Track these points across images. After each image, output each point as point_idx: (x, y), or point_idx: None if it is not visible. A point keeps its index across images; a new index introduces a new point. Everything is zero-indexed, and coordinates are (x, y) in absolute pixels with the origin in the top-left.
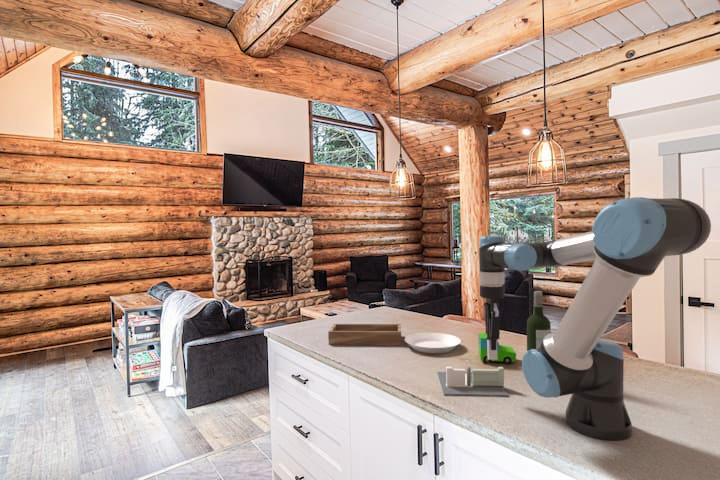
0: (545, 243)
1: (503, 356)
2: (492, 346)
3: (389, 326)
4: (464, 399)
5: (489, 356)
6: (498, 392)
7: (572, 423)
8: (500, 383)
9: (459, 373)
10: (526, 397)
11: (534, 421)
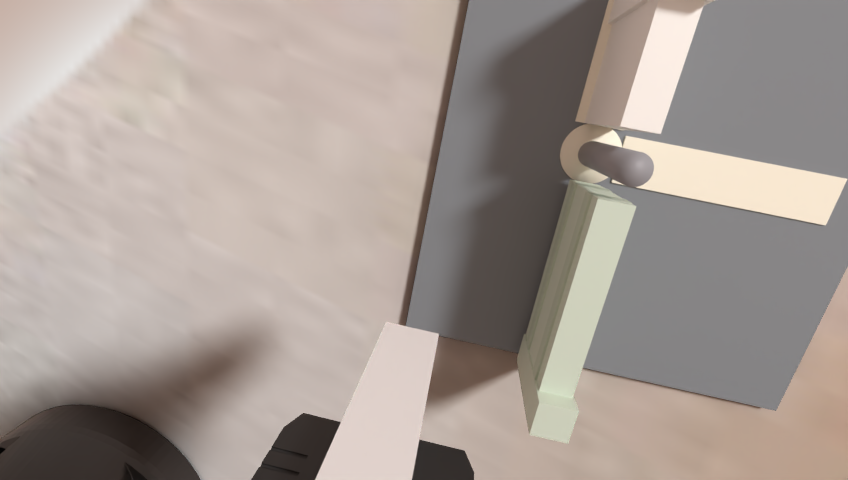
0: None
1: None
2: (266, 465)
3: None
4: (401, 47)
5: (374, 349)
6: (446, 290)
7: (56, 418)
8: (523, 349)
9: (627, 73)
10: None
11: (133, 301)
